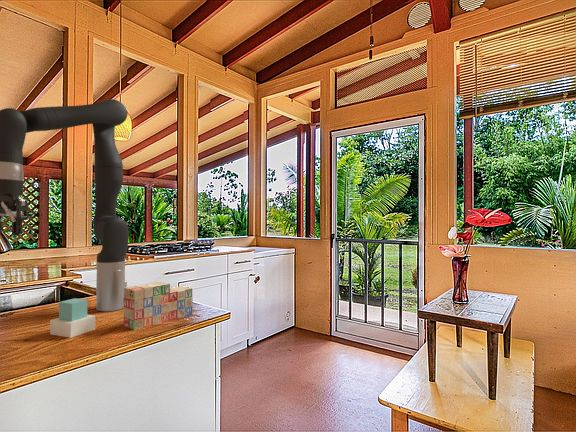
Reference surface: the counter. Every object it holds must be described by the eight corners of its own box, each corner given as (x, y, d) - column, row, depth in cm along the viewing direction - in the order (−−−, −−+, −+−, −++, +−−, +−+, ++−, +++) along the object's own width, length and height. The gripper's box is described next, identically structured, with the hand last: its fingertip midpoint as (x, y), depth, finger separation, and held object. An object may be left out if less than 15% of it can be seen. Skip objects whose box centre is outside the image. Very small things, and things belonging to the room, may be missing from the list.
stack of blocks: (181, 311, 124) (182, 277, 124) (192, 315, 121) (193, 279, 121) (123, 326, 107) (123, 286, 107) (133, 330, 104) (134, 289, 104)
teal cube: (74, 314, 105) (74, 298, 105) (87, 316, 103) (87, 299, 103) (58, 319, 100) (59, 302, 100) (71, 321, 98) (72, 303, 98)
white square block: (75, 325, 107) (75, 312, 107) (95, 329, 104) (95, 315, 104) (50, 334, 99) (50, 320, 99) (70, 337, 97) (70, 323, 97)
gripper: (37, 179, 102) (36, 235, 102) (4, 180, 107) (4, 233, 107) (9, 177, 95) (9, 236, 95) (-24, 178, 100) (-25, 234, 100)
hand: (6, 234), depth 101 cm, fingers open, 8 cm apart
